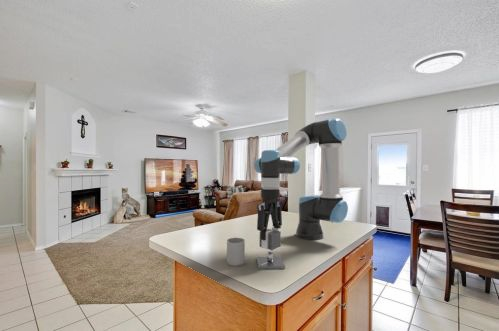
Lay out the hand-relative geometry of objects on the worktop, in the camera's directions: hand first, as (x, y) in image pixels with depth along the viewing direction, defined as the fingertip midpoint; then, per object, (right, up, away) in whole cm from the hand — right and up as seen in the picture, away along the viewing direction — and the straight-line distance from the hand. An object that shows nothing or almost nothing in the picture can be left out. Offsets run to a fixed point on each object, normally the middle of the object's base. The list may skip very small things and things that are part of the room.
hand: (269, 245), depth 91 cm
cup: (-14, -7, +2) cm, 16 cm away
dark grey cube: (0, 0, 0) cm, 0 cm away
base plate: (0, -7, 0) cm, 7 cm away
